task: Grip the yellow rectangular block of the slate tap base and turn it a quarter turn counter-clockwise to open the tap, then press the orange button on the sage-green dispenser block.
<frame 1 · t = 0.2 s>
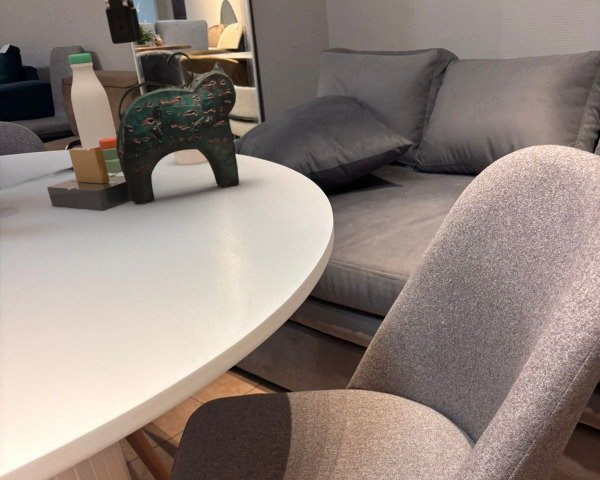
hand: (128, 42, 90), 22 cm above the table, tool pointing down, fingers open, 9 cm apart
yellow rectangular block: (89, 164, 101), point 6 cm above the table, hinge at 0.0°
dispenser: (114, 168, 128), on the table
milk bottle: (103, 156, 142), on the table
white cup: (193, 162, 127), on the table
dispenser button: (108, 144, 126), point 5 cm above the table, slide at 0.1 cm
tap base: (97, 200, 104), on the table
ceramic cat: (190, 193, 104), on the table
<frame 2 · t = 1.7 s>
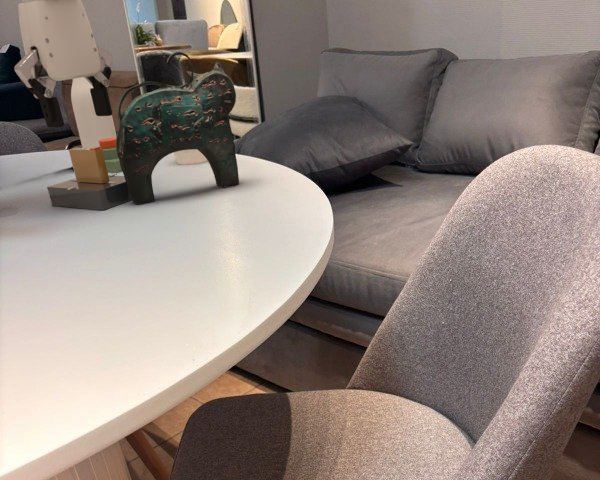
hand: (81, 121, 98), 12 cm above the table, tool pointing down, fingers open, 9 cm apart
nothing on the table moved.
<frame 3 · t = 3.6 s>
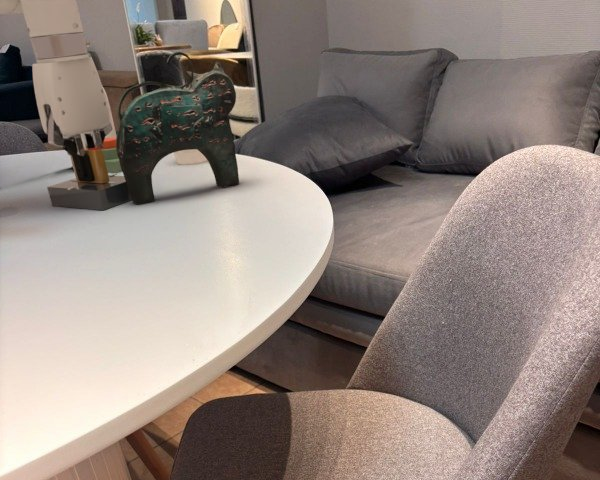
hand: (92, 178, 103), 4 cm above the table, tool pointing down, fingers closed on yellow rectangular block
yellow rectangular block: (89, 164, 101), point 6 cm above the table, hinge at 0.0°, touching gripper
everything else where it was.
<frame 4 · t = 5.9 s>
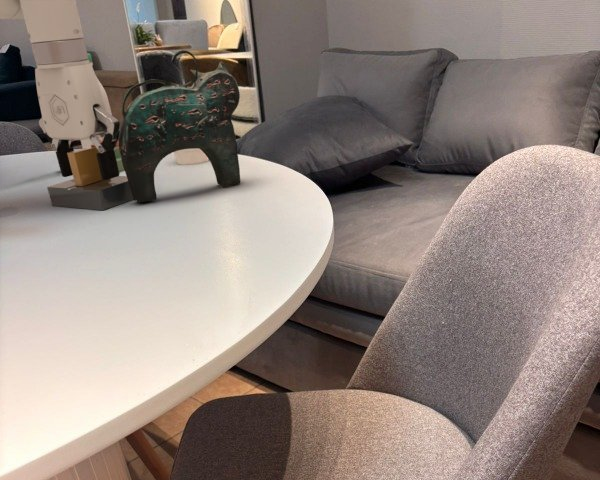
hand: (90, 176, 102), 4 cm above the table, tool pointing down, fingers open, 9 cm apart
yellow rectangular block: (89, 164, 101), point 6 cm above the table, hinge at 89.8°
ceramic cat: (191, 192, 104), on the table, touching gripper
everything else where it was.
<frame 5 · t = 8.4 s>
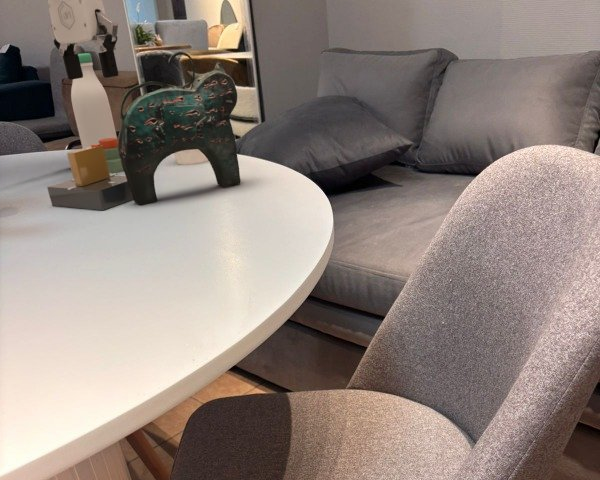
hand: (93, 77, 119), 16 cm above the table, tool pointing down, fingers open, 9 cm apart
ceramic cat: (191, 194, 104), on the table
everything else where it was.
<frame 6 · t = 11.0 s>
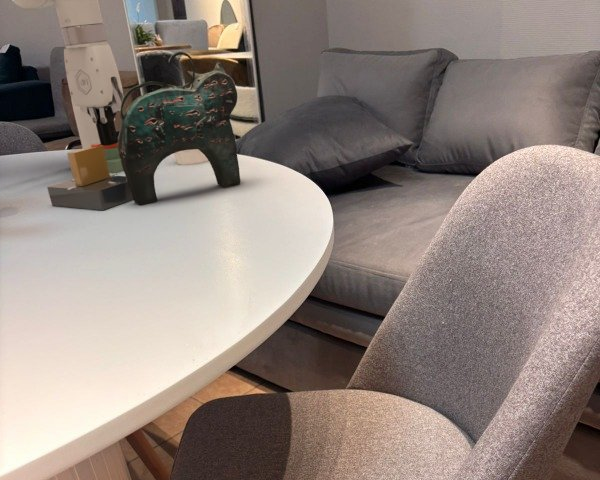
hand: (109, 143, 126), 5 cm above the table, tool pointing down, fingers closed
dispenser button: (109, 148, 126), point 4 cm above the table, slide at -0.7 cm, touching gripper
everything else where it was.
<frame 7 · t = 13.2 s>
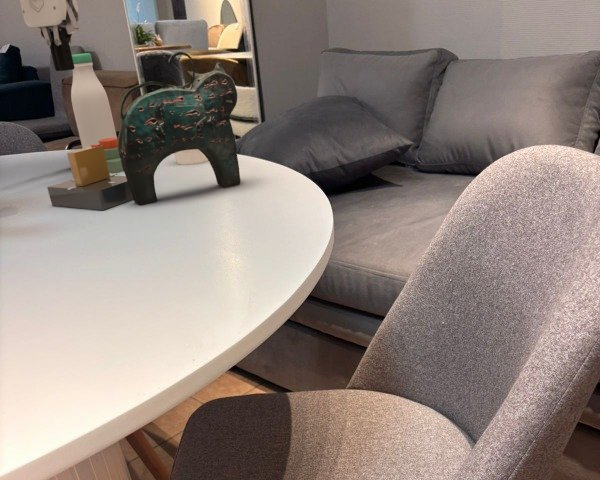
hand: (65, 69, 118), 18 cm above the table, tool pointing down, fingers closed
dispenser button: (108, 144, 126), point 5 cm above the table, slide at 0.1 cm
everything else where it was.
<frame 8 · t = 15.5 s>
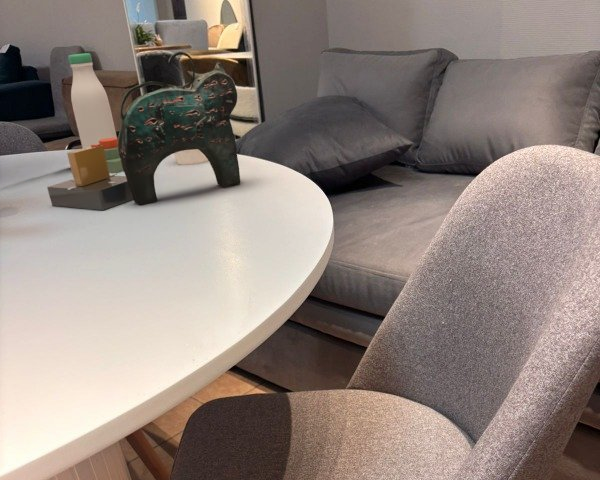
nothing on the table moved.
at the end: yellow rectangular block at +90° (first picture: +0°); dispenser button pushed in 1.1 cm at the most during the clip, back to where it started at the end; dispenser button slide at 0.1 cm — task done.
